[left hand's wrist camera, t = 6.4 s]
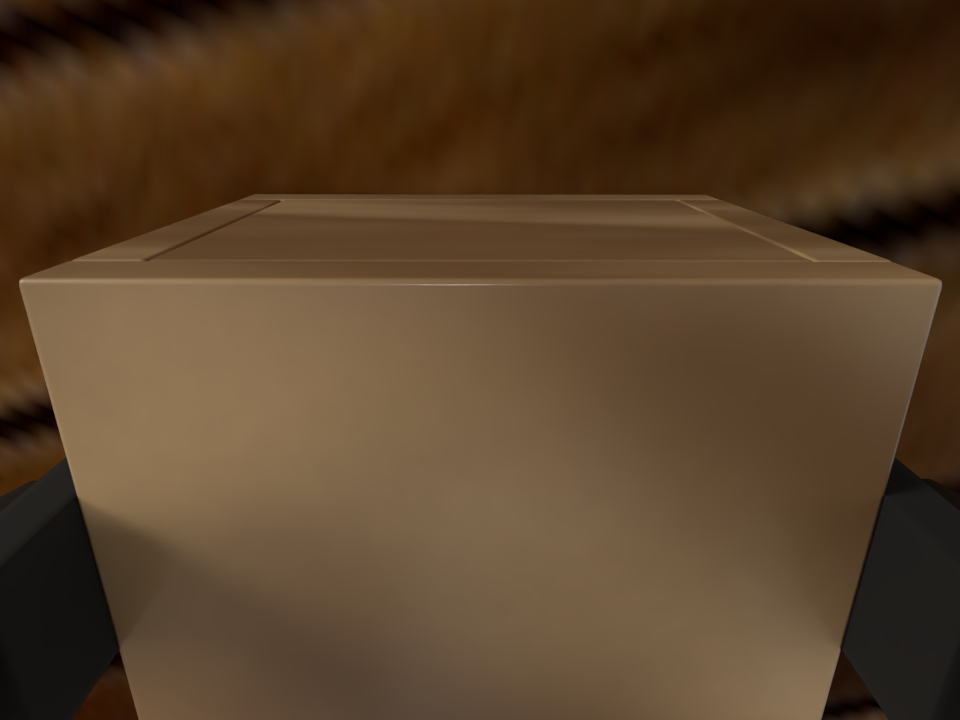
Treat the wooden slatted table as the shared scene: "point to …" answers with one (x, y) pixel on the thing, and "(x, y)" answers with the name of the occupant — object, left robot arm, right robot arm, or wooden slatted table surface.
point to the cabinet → (480, 453)
